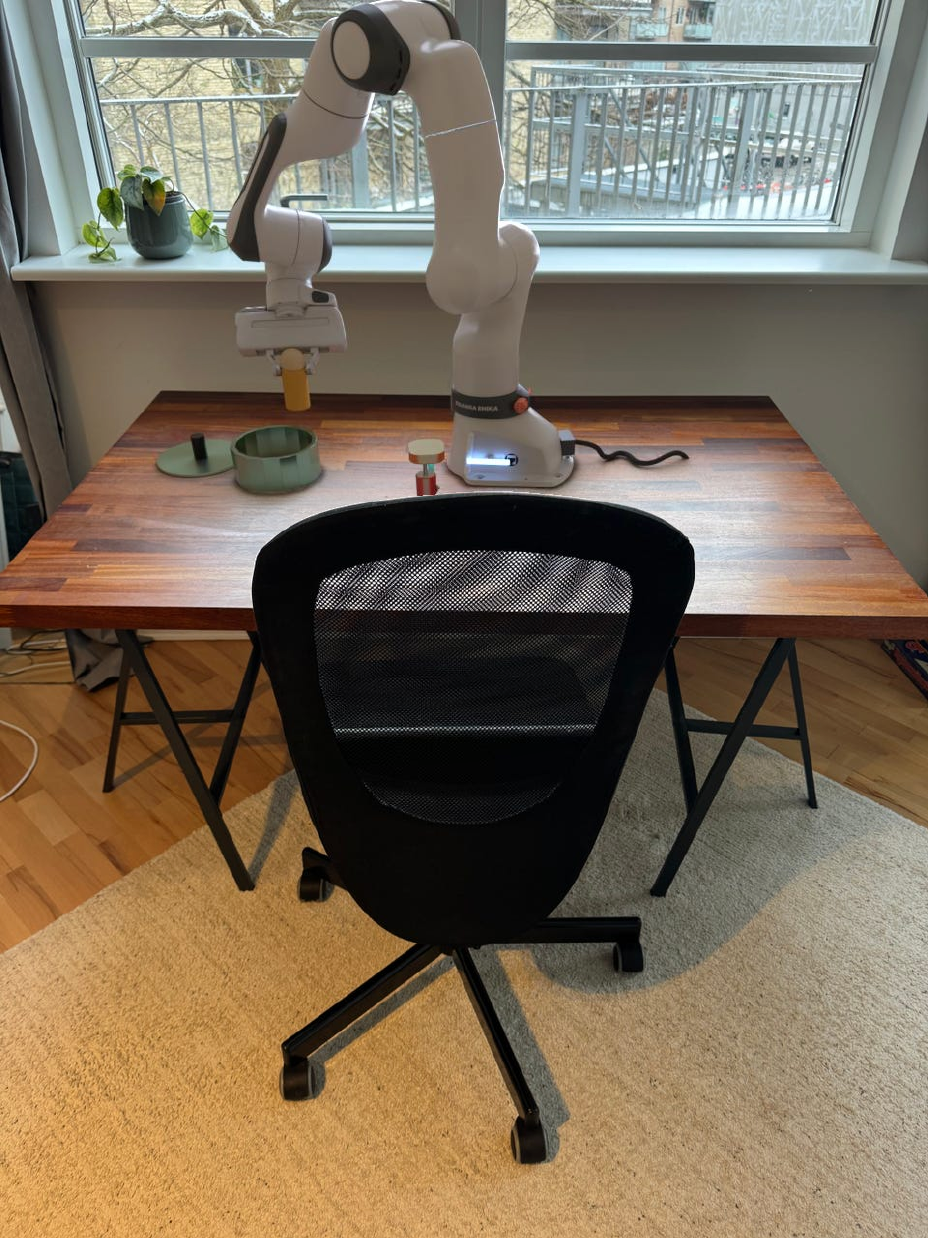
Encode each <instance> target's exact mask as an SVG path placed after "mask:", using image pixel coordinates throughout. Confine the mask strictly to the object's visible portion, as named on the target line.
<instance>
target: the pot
mask: <svg viewBox="0 0 928 1238" xmlns="http://www.w3.org/2000/svg"><path fill="white" fill-rule="evenodd" d="M318 440H319V439H318V435H317V434H315V432H314V431H313V430H312V429H309V428H307V427H303V426H300V425H290V424H275V425H266V426H261V427H255V428H251V429H250V430H247V431H245V432H242V433H240V434H238V435H237V436H236V437H234V439H233V440H232V439H231V441H232V442H231V446H230V450H231V456H232V461H233V471H234V477H235V480H236V482H237V483H238V485H239V486H240V487H242V488H245V489H248V490H250V491H252V492H262V493H277V492H286V491H290V490H291V491H292V490H295V489H300V488H303V487H306V486H308V485H309V484H311V483H313V482H315V481H316V480H317V479H318V478H319V477H320V475H321V469H322V465H321V457H320V450H319V449H320V448H319V442H318Z"/></svg>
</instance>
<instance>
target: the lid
mask: <svg viewBox="0 0 928 1238" xmlns="http://www.w3.org/2000/svg"><path fill="white" fill-rule="evenodd" d="M189 438H190V441H186V442H183V443H180V444H176V445H174V446H172V447H170V448H168V449H166V450H165V451H163V452H162V453H160V454H159V456H158V457H157V459H156V465H157V468H158V469H159V471H161V472H162V473H163V474H165V475H169V476H171V477H178V478H200V477H208V476H213V475H217V474H220V473H224V472H226V471H229V470H231V469H234V467H233V461H232V456H231V450H230V446H231V442H232V440H228V439H220V438H207V439H205V434H204V433H202V432H196V433H195V432H194V433H192V434H190V436H189Z"/></svg>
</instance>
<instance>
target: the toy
mask: <svg viewBox="0 0 928 1238" xmlns="http://www.w3.org/2000/svg"><path fill="white" fill-rule="evenodd" d="M279 356H280V357H279V364H280V365H281V374H282V376H281V381H282V387H283V395H284V402H285V408H286V409H287V411H291V412H292V411H293V412H301V411H305V410H308V409H310V408H311V398H310V397H311V396H310V389H309V382H308V375H306V370H305V368H306V367H305V363H306V357H305V354H302V353H301V352H300V351H299V350H297V349H294V348H290V349H287V350H285V351H284V352H283V353H282V354H281V355H279Z"/></svg>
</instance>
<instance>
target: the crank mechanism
mask: <svg viewBox="0 0 928 1238" xmlns="http://www.w3.org/2000/svg"><path fill="white" fill-rule="evenodd" d="M407 451H408V453H407V454H408V461H409V462H410V463H411V464H414V465H422V469H423V470H419V471H417V472H416V473H415V488H416V489H415V490H416V491H415V492H416V496H423V495H435V494H437V493H438V491H439V490H440V486H439V485H438V484H437V474H436V472H435V467H434V466H435V464H440V463H442V462H443V461H444V460H445V457H446V456H445V455H446V454H445V453H446V452H445V451H446V450H445V442H444V441H443V440H441V439H438V438H423V439H414V440H411V441H409V443H408V444H407ZM437 495H438V494H437Z"/></svg>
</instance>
